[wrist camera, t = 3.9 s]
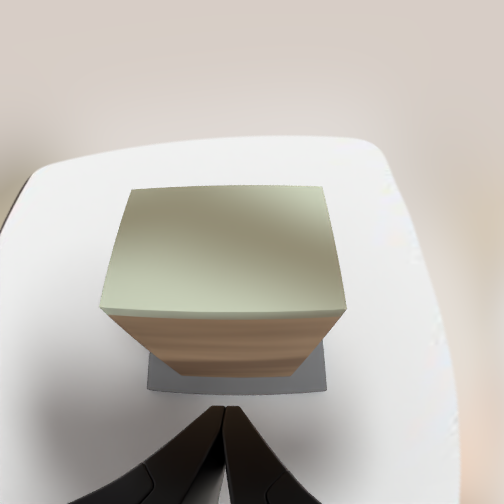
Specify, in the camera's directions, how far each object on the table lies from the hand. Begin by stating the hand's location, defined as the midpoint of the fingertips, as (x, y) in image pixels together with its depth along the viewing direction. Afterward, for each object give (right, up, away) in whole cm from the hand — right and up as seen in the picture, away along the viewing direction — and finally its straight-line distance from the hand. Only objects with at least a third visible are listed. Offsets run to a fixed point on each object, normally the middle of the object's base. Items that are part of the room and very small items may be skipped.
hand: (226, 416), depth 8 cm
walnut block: (0, 0, +8) cm, 8 cm away
